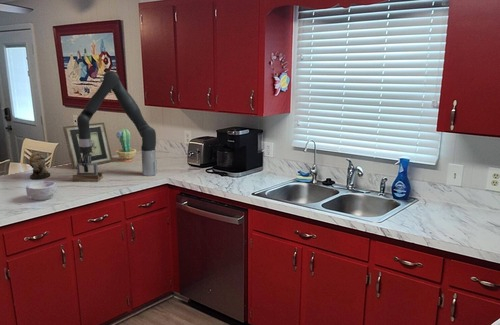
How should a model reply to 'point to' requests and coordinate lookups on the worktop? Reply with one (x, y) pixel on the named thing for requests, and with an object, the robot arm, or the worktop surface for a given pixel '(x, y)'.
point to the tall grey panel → (91, 169)
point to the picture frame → (99, 144)
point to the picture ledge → (87, 178)
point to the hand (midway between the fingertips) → (87, 171)
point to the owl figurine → (38, 166)
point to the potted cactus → (125, 146)
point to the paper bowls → (41, 190)
